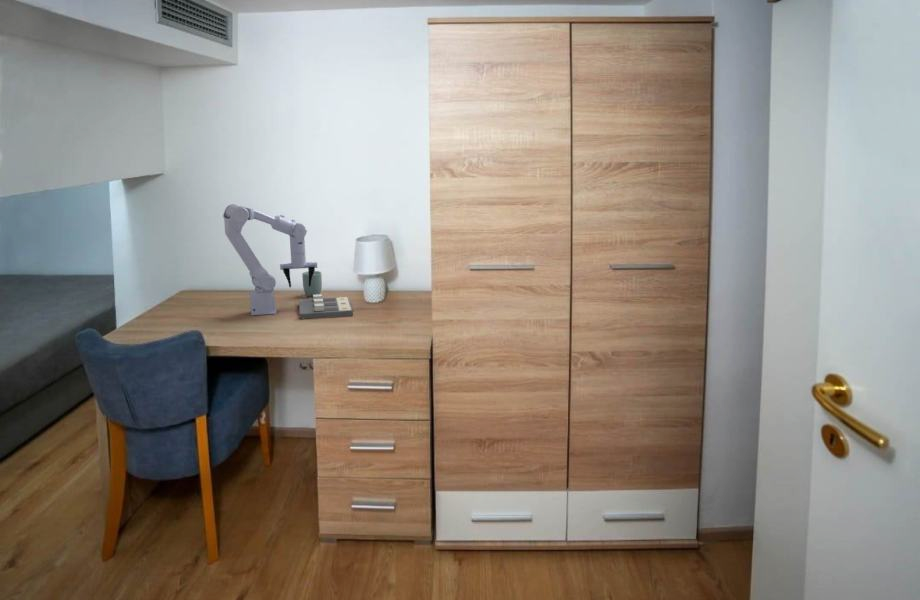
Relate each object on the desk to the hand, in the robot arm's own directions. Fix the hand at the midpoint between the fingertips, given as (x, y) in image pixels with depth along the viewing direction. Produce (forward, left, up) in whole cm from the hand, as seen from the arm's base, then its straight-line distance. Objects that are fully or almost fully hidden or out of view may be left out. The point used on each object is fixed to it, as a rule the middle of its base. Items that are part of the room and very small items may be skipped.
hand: (300, 286), depth 325 cm
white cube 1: (+7, -16, -6) cm, 18 cm away
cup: (+5, +18, -9) cm, 21 cm away
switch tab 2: (+7, -8, -6) cm, 12 cm away
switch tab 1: (+7, 0, -6) cm, 9 cm away
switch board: (+9, -8, -8) cm, 15 cm away
